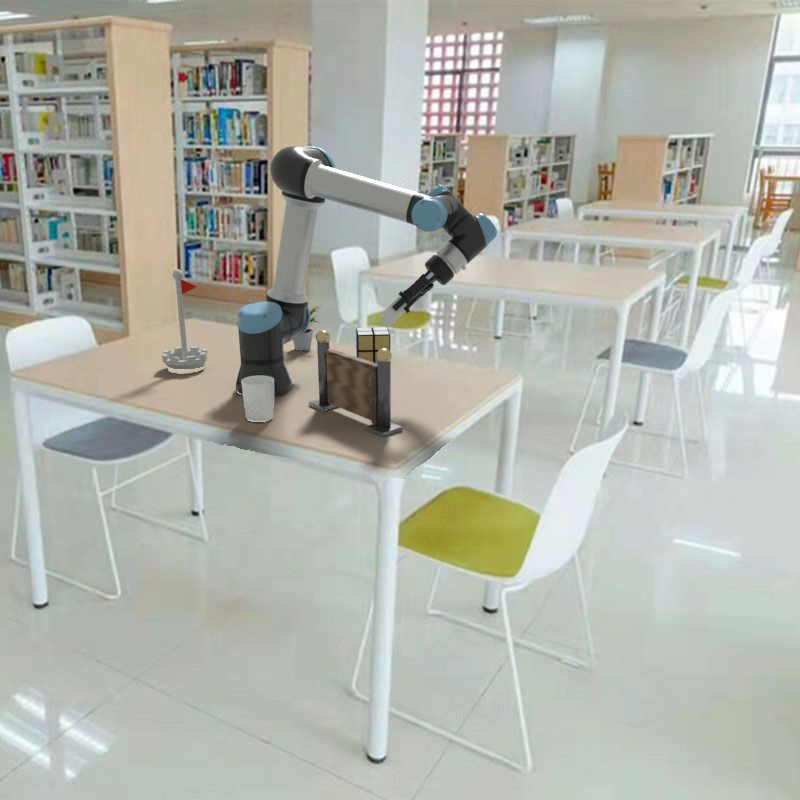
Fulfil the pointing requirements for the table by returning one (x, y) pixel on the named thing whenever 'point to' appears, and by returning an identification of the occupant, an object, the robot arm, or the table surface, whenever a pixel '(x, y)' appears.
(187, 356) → the flag stand
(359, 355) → the puzzle cube
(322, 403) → the gate posts
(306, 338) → the house plant
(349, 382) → the panel
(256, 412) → the white cup
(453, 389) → the table surface
